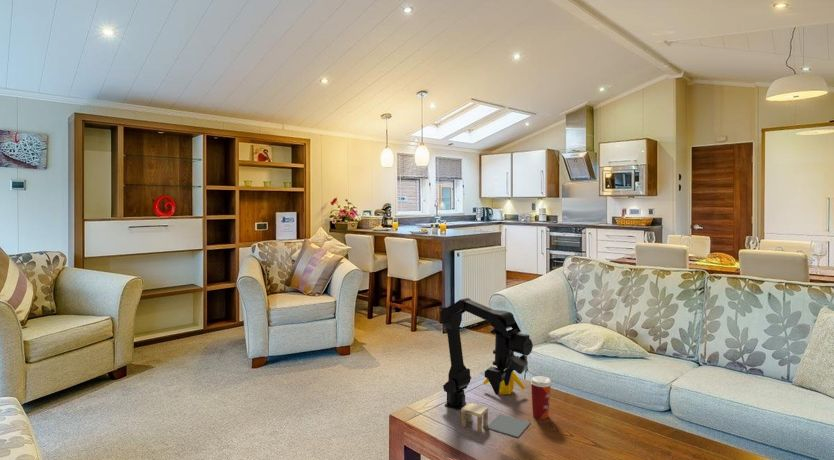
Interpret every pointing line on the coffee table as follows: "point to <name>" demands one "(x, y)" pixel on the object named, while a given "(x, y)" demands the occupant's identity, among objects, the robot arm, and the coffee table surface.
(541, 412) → the paper cup
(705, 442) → the coffee table surface
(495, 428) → the felt pad
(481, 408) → the stool
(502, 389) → the figure statuette
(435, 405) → the coffee table surface
